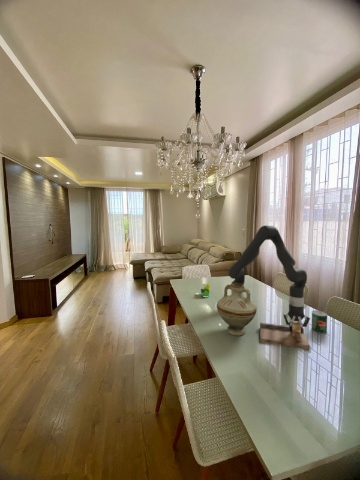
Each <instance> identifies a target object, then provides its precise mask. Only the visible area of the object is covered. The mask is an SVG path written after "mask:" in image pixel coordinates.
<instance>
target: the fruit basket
mask: <svg viewBox="0 0 360 480" xmlns="http://www.w3.org/2000/svg"><path fill="white" fill-rule="evenodd" d="M210 290H211V285H210V284H209V283H207V284H206V285H204V288H200V293H201V294H200V295H201V297H202V296H208V297H209V296H210Z"/></svg>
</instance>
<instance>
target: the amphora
mask: <svg viewBox="0 0 360 480" xmlns="http://www.w3.org/2000/svg"><path fill="white" fill-rule="evenodd" d="M229 290H230V291H231V290H232V291H233V294H232V295H231V294H230V295H228V291H229ZM223 292H224V293H223V296H222V297H221V299H219V300H218V301H217V302H216V310H217V312H218V314H219V316H220V318H221V319H222V320H223V322H225V323H226V324H227V325H228V326H227V329H226V332H227V333H228V332H229V334H230V335H232V336H235V335H237V337H240V335H241V336H243V335H245V334H246V328H245V327H246V326H247V325H249V324H250V323H251V322H252V320H254V318H255V316H256V314H257V309H258V307H257V305H256V303H254V302H253V301H252V300H251V291H250V289H249V288H247V287H245V284H244V285H242V284H237V283H233V284H231V283H230V284H227V285H226V286H225V287H224V291H223ZM242 292H243V293H246V296H241V293H242Z"/></svg>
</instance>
